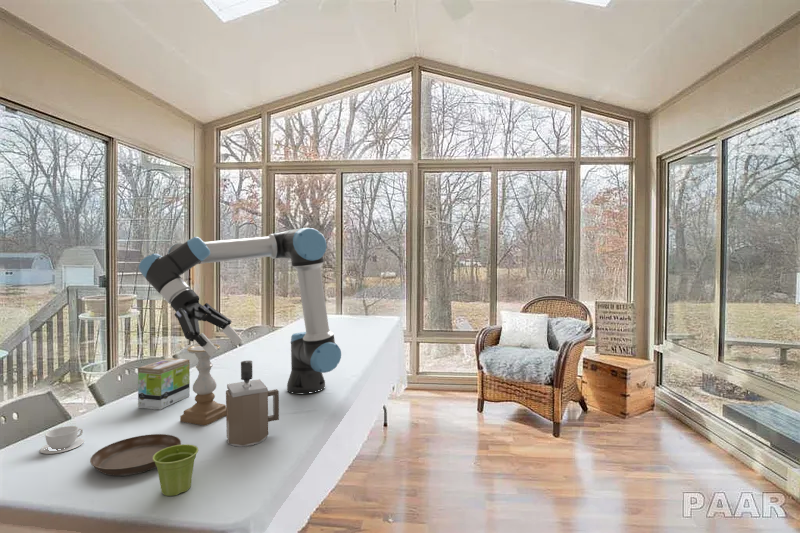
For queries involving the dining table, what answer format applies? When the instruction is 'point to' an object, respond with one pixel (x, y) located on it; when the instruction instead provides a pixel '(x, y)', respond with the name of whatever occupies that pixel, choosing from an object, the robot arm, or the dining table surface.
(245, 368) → the plunger
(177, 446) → the plant pot
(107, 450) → the plant saucer
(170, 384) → the tea box
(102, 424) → the dining table surface
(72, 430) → the teacup
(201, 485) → the dining table surface
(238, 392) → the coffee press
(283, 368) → the dining table surface
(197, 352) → the candle holder
